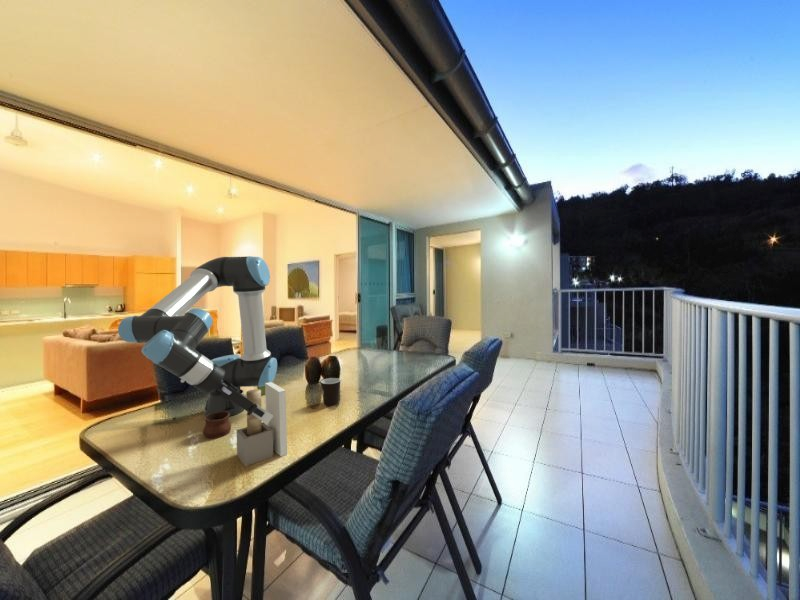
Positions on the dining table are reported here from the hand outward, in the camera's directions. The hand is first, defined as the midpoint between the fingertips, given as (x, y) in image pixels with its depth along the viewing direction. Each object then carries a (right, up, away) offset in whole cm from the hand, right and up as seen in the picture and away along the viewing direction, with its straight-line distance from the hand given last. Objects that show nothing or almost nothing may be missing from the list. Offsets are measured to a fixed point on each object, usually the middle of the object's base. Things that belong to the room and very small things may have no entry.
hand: (262, 413), depth 95 cm
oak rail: (-2, -9, -1) cm, 9 cm away
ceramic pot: (-22, -13, +14) cm, 29 cm away
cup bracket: (0, -12, 0) cm, 12 cm away
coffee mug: (+12, -11, +44) cm, 47 cm away
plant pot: (-24, -11, +57) cm, 63 cm away
